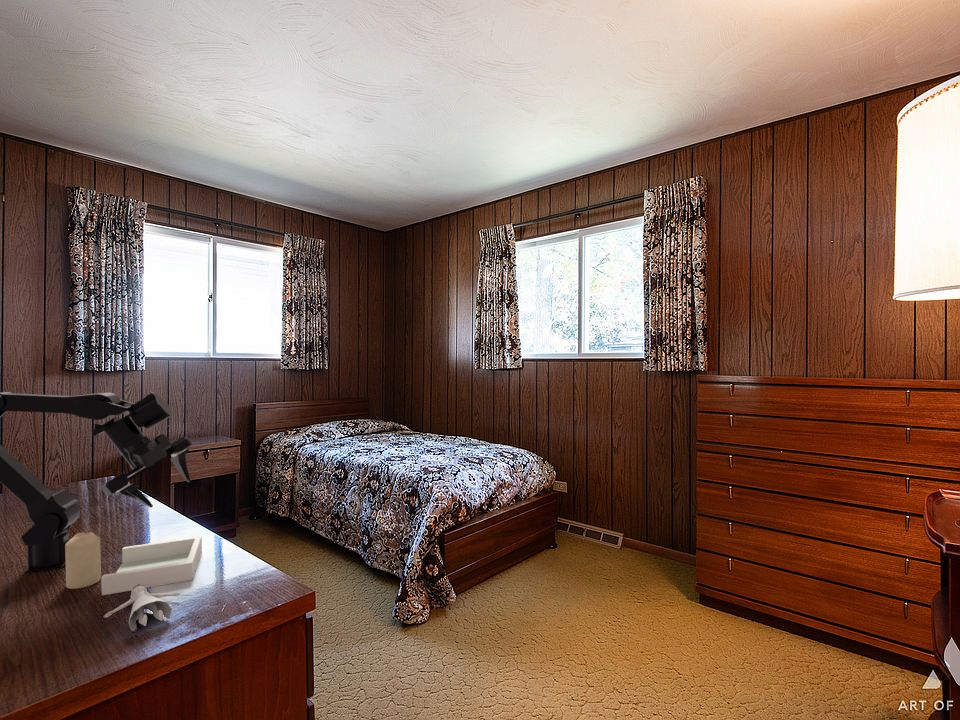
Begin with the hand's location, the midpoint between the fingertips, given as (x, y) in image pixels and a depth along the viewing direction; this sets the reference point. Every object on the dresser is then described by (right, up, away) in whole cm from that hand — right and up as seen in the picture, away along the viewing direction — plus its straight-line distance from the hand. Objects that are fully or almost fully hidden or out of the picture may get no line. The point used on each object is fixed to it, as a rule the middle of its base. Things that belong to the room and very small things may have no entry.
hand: (171, 494), depth 116 cm
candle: (-8, -14, -16) cm, 23 cm away
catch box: (+3, -13, -11) cm, 18 cm away
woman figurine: (+13, -14, -28) cm, 34 cm away
